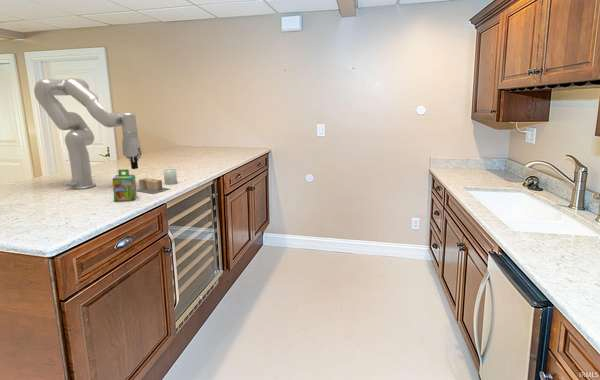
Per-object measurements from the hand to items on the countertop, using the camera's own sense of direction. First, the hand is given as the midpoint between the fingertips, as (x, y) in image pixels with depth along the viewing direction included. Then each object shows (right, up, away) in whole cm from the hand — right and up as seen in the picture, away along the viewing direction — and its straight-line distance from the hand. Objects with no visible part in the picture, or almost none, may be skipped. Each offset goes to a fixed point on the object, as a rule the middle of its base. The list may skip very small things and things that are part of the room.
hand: (134, 168), depth 208 cm
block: (+5, -8, -1) cm, 10 cm away
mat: (+12, -12, -5) cm, 17 cm away
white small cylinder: (+16, -8, +12) cm, 22 cm away
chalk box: (+5, -17, -22) cm, 28 cm away
